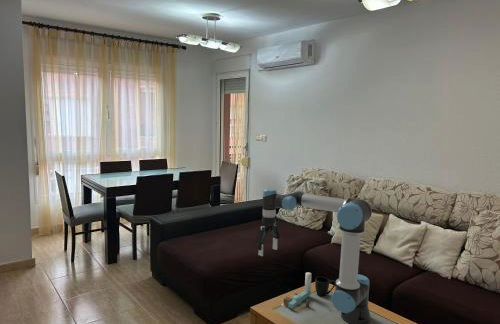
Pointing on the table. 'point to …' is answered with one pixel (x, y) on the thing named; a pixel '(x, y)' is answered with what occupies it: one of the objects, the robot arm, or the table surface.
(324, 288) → the mug
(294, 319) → the table surface
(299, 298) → the lever
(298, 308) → the press base
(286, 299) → the walnut block
